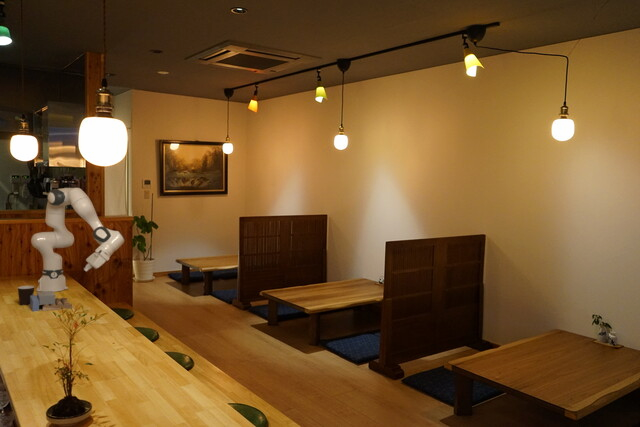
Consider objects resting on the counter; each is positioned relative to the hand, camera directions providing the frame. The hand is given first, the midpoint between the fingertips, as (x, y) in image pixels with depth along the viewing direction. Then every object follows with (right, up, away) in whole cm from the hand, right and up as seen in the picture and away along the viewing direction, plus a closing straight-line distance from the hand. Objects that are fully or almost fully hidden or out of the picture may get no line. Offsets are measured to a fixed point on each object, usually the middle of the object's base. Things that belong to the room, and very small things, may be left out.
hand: (84, 270), depth 302 cm
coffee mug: (-32, -19, -4) cm, 38 cm away
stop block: (-22, -20, -14) cm, 33 cm away
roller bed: (-14, -20, -8) cm, 26 cm away
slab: (-17, -17, -11) cm, 27 cm away
